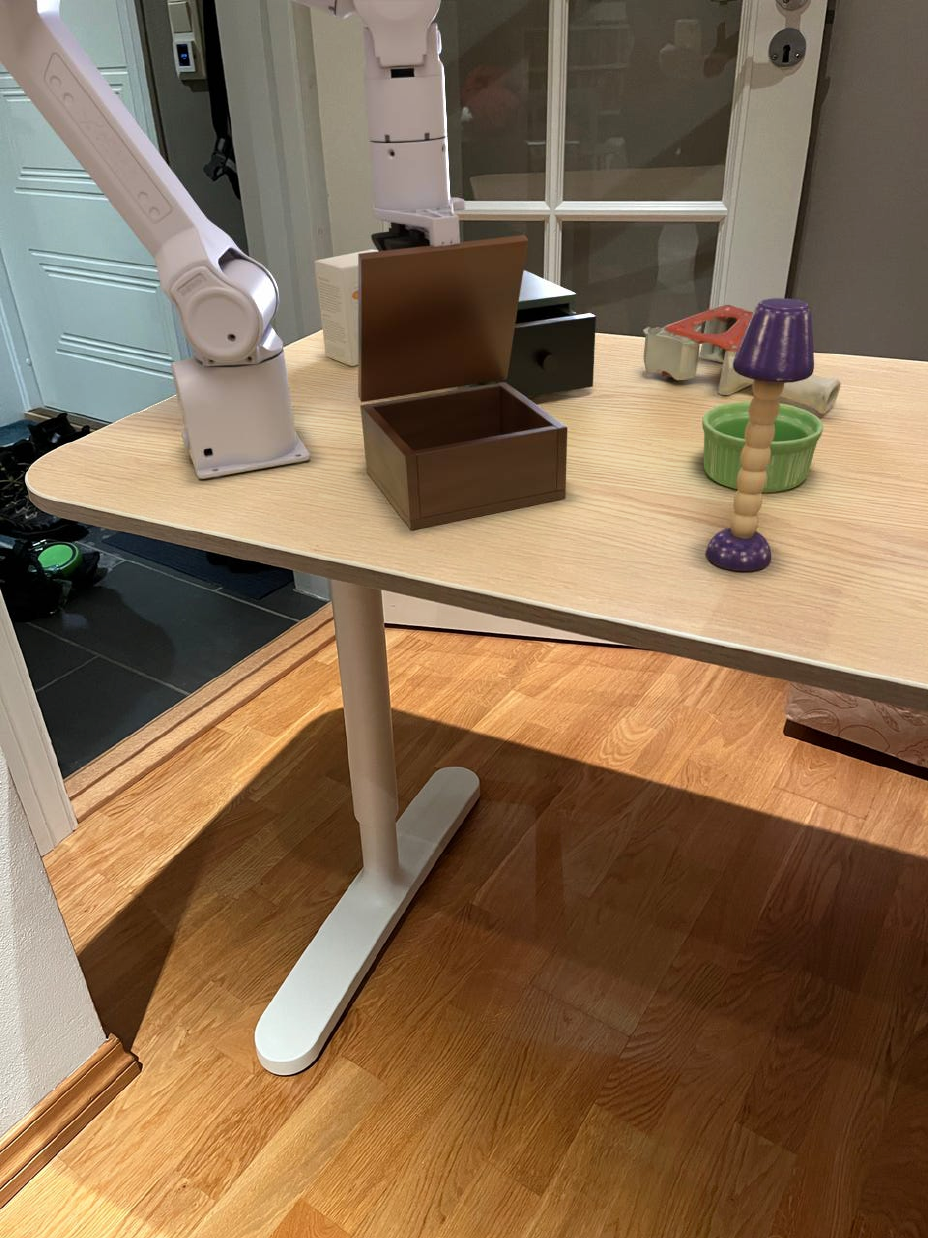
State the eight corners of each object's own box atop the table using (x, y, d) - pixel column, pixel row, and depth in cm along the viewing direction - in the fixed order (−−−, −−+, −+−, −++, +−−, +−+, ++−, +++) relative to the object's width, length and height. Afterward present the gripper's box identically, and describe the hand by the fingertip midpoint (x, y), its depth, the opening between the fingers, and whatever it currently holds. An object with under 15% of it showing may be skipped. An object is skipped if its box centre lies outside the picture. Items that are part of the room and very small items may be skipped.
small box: (381, 342, 107) (373, 248, 101) (409, 351, 103) (403, 254, 98) (324, 356, 103) (312, 259, 97) (351, 367, 99) (340, 267, 94)
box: (565, 498, 70) (567, 426, 66) (410, 530, 66) (405, 456, 63) (505, 446, 79) (505, 381, 76) (366, 472, 75) (360, 404, 72)
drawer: (599, 390, 87) (602, 319, 84) (500, 407, 84) (499, 333, 81) (538, 353, 98) (539, 288, 95) (449, 367, 95) (446, 300, 92)
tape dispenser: (840, 434, 82) (796, 354, 98) (855, 378, 79) (808, 305, 95) (644, 425, 83) (633, 347, 99) (652, 369, 80) (639, 299, 96)
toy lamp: (728, 533, 64) (762, 289, 55) (791, 553, 61) (838, 299, 52) (694, 559, 61) (724, 305, 52) (759, 581, 58) (803, 317, 49)
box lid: (528, 240, 66) (524, 234, 66) (361, 259, 62) (358, 253, 62) (506, 378, 75) (503, 373, 76) (361, 402, 71) (358, 396, 72)
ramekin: (697, 448, 77) (702, 398, 74) (808, 454, 75) (817, 403, 73) (696, 493, 70) (702, 439, 67) (819, 500, 68) (830, 445, 65)
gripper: (496, 141, 62) (501, 340, 69) (426, 128, 73) (437, 300, 81) (398, 150, 60) (414, 354, 67) (342, 135, 71) (361, 311, 79)
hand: (421, 326), depth 74 cm, fingers closed
